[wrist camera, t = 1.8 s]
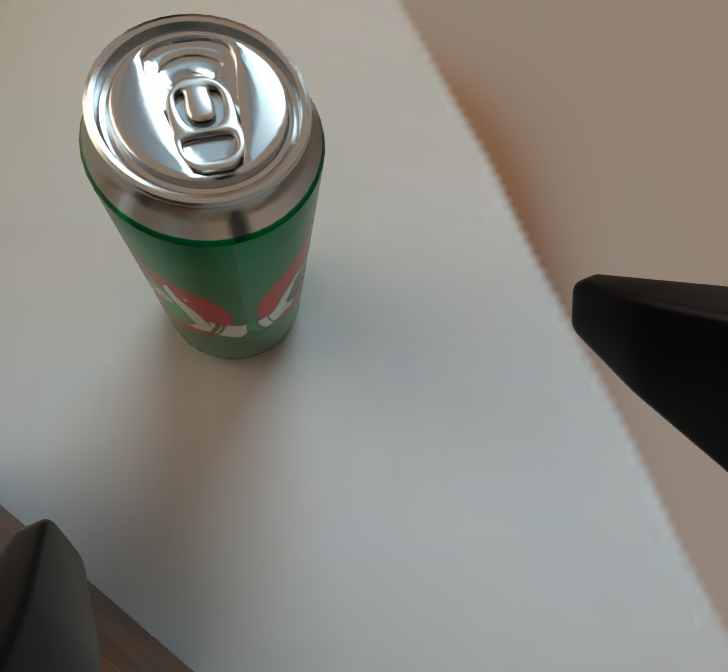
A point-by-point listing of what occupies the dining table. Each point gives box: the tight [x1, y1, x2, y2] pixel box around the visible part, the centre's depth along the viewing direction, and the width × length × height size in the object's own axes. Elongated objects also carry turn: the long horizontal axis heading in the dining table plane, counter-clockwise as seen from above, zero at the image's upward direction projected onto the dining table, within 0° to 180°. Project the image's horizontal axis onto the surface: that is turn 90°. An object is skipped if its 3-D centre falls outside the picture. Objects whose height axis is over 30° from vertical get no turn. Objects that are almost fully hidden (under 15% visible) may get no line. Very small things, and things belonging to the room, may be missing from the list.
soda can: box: [79, 14, 325, 359], centre depth 16 cm, size 5×5×12 cm
